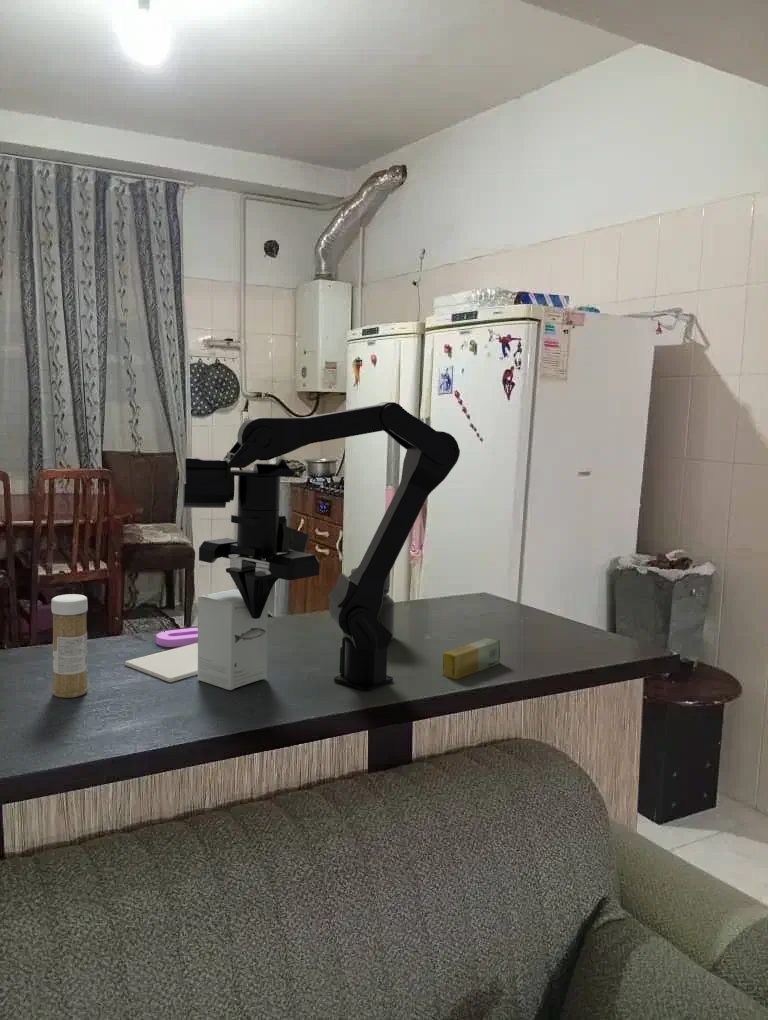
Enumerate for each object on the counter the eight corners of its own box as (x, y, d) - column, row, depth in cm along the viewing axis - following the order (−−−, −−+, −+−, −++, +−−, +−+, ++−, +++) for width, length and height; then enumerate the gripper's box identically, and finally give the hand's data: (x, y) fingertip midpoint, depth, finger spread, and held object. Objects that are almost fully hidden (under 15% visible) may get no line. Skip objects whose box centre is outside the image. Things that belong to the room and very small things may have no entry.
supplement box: (230, 691, 113) (230, 603, 112) (196, 680, 118) (195, 595, 116) (269, 678, 119) (269, 594, 118) (234, 668, 124) (234, 587, 122)
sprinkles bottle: (58, 687, 113) (57, 592, 111) (92, 687, 113) (91, 593, 112) (48, 699, 108) (46, 600, 107) (83, 699, 109) (82, 601, 107)
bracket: (227, 632, 144) (227, 593, 143) (237, 640, 139) (238, 600, 138) (152, 640, 137) (152, 599, 136) (161, 649, 132) (161, 607, 131)
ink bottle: (332, 633, 144) (334, 567, 143) (374, 627, 149) (376, 563, 148) (361, 648, 136) (364, 578, 135) (404, 641, 141) (407, 574, 140)
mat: (243, 660, 127) (243, 657, 127) (169, 682, 117) (170, 678, 117) (198, 645, 134) (198, 642, 134) (125, 664, 123) (125, 661, 123)
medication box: (486, 660, 133) (487, 636, 133) (500, 664, 132) (501, 639, 131) (441, 677, 124) (442, 651, 124) (455, 681, 123) (456, 655, 122)
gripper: (347, 511, 113) (343, 620, 115) (254, 498, 124) (252, 597, 126) (291, 517, 104) (288, 635, 106) (197, 502, 116) (195, 609, 117)
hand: (256, 618), depth 114 cm, fingers closed
